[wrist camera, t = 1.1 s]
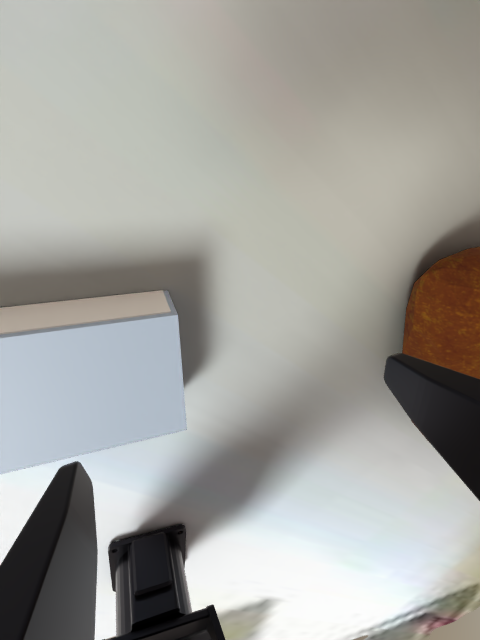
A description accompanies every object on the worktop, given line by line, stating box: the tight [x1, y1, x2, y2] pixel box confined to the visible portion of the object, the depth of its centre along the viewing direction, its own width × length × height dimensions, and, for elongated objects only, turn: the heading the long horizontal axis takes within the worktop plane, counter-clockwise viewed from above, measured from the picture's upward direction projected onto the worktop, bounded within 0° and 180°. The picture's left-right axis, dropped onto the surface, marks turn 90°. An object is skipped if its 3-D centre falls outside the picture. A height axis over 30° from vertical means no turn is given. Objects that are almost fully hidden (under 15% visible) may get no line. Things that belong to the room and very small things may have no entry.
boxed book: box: [0, 290, 187, 474], centre depth 19 cm, size 8×12×4 cm
